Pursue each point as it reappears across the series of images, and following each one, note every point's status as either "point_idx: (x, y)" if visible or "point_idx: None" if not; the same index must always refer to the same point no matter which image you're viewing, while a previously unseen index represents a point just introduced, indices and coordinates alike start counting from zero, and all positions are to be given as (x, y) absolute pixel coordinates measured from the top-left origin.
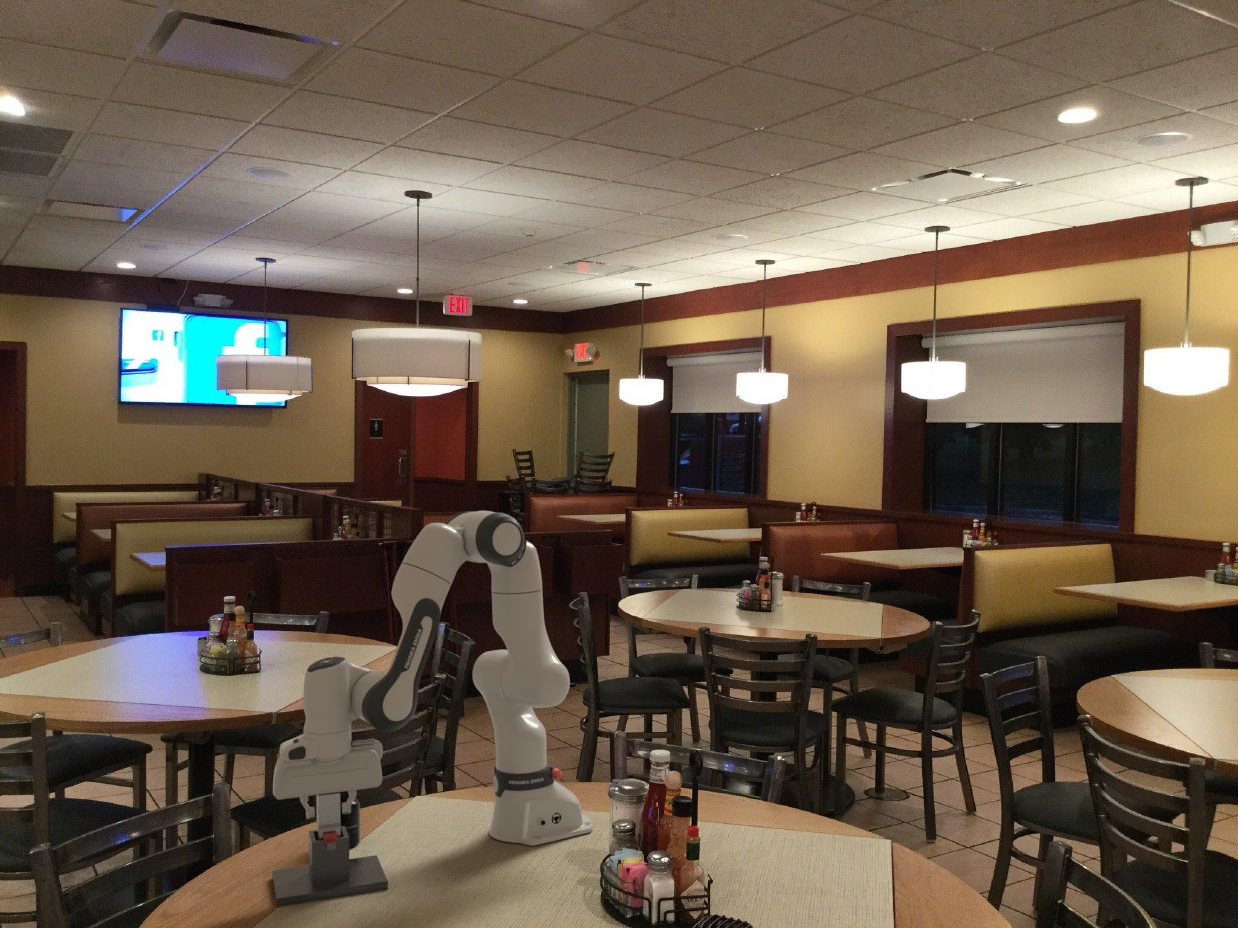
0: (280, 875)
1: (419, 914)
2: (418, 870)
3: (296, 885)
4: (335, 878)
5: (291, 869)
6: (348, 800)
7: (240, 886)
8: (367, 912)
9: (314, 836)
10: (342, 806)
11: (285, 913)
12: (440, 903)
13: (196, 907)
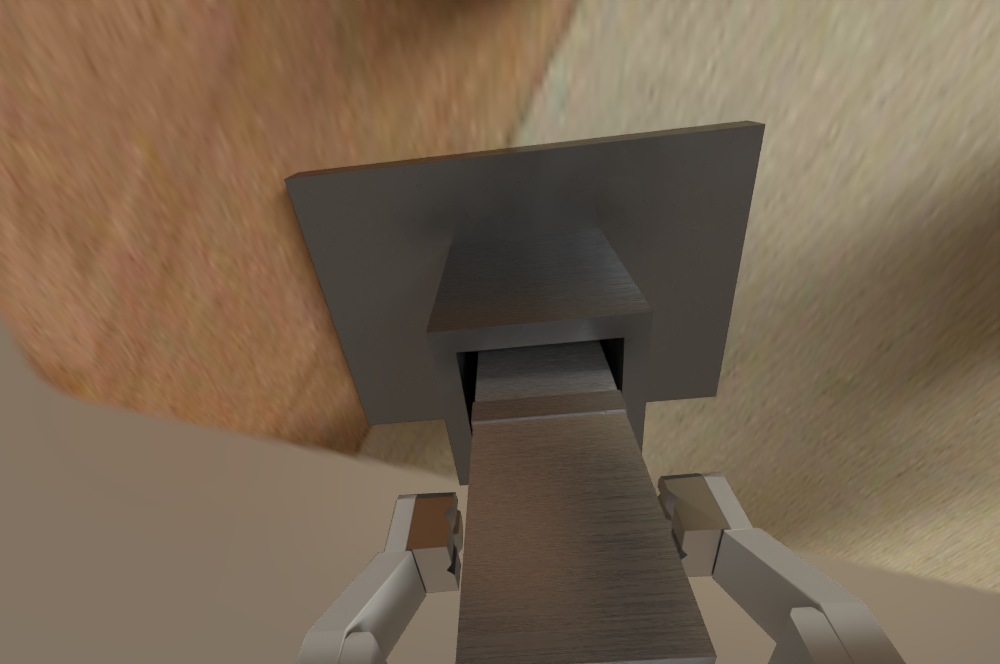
0: (335, 243)
1: None
2: (861, 265)
3: (416, 350)
4: None
5: (369, 188)
6: (741, 579)
7: (191, 220)
8: None
9: (467, 419)
10: (674, 527)
11: (408, 446)
12: (799, 488)
13: (117, 351)
